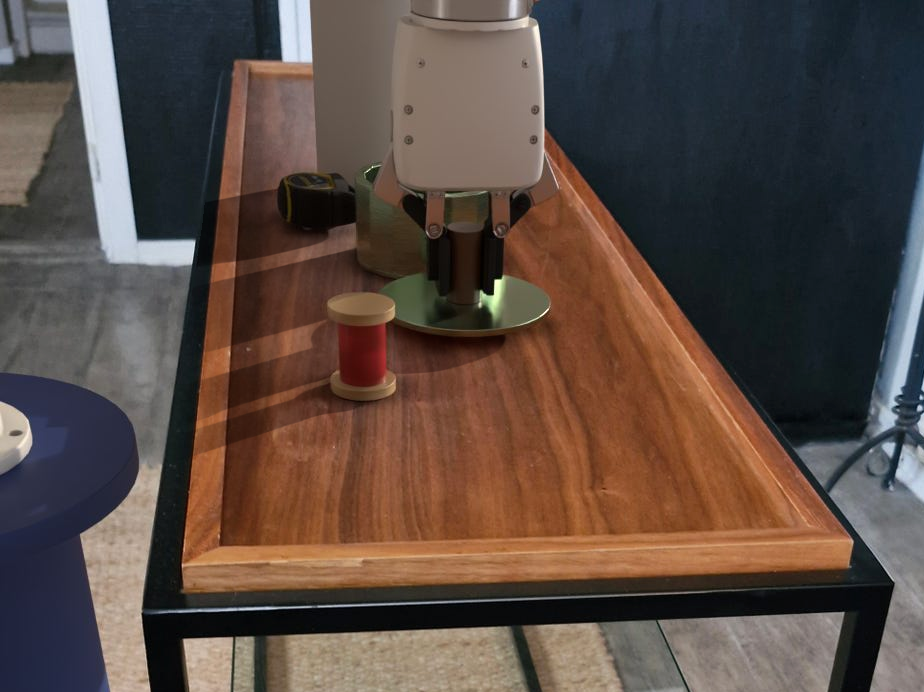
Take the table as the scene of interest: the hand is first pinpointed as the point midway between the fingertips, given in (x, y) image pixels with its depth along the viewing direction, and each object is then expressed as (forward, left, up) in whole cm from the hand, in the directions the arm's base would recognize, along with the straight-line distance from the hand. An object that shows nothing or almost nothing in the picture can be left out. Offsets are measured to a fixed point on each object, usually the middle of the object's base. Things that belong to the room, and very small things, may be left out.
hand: (464, 287), depth 88 cm
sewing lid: (0, 0, -1) cm, 1 cm away
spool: (-8, -12, -2) cm, 15 cm away
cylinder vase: (-3, +35, -2) cm, 35 cm away
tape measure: (-9, +24, -3) cm, 26 cm away
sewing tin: (-1, +14, -2) cm, 14 cm away
